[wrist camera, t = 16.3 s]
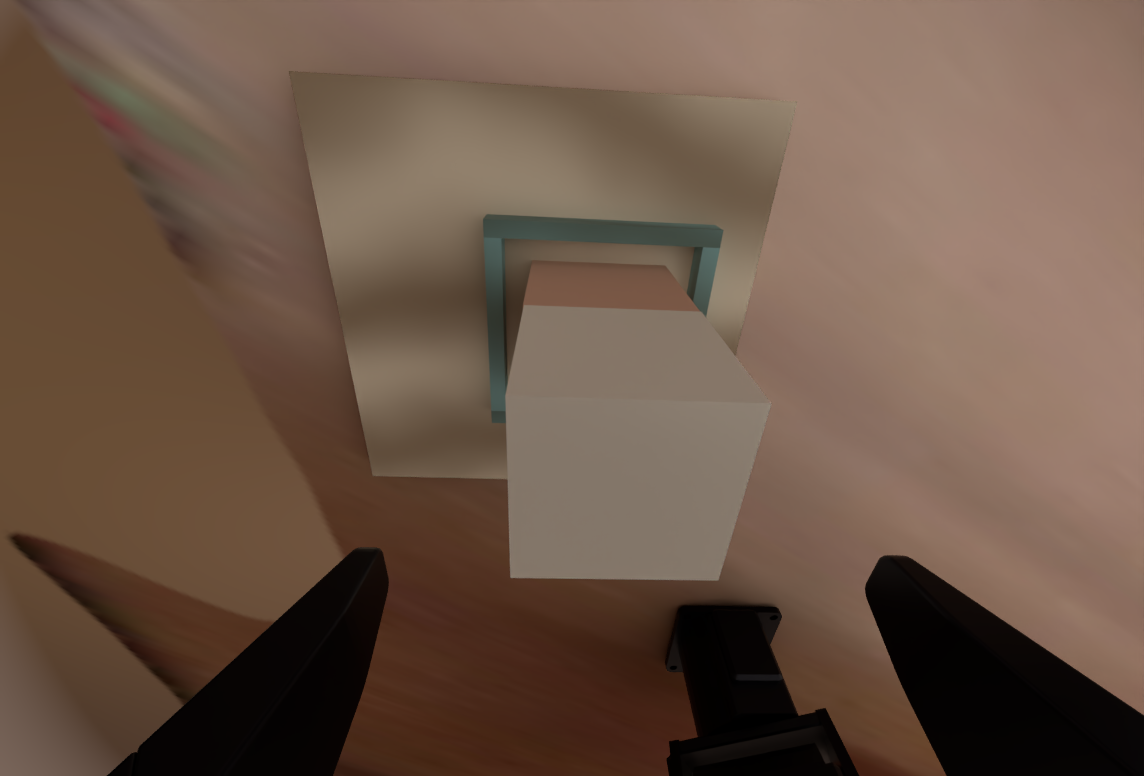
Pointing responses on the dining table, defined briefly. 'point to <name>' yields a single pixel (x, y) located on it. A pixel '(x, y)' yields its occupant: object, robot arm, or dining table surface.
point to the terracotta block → (605, 286)
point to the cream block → (626, 444)
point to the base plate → (513, 230)
